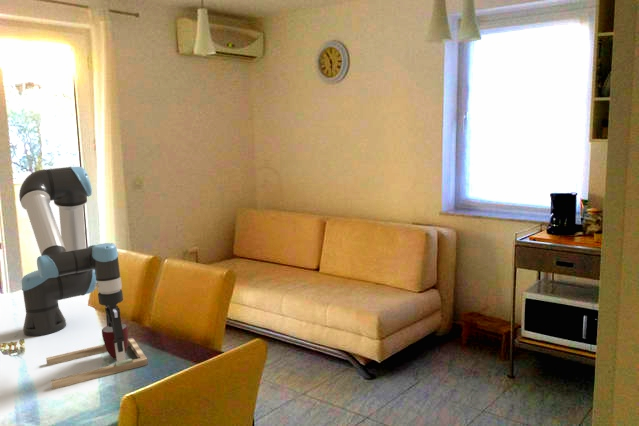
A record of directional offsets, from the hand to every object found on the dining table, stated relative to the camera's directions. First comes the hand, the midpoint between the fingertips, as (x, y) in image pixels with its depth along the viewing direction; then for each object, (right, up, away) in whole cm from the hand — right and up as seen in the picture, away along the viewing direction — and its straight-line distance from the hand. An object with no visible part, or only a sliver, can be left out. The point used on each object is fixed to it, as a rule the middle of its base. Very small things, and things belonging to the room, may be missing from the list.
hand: (118, 354), depth 187 cm
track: (-6, -2, -3) cm, 7 cm away
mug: (0, -1, 0) cm, 1 cm away
